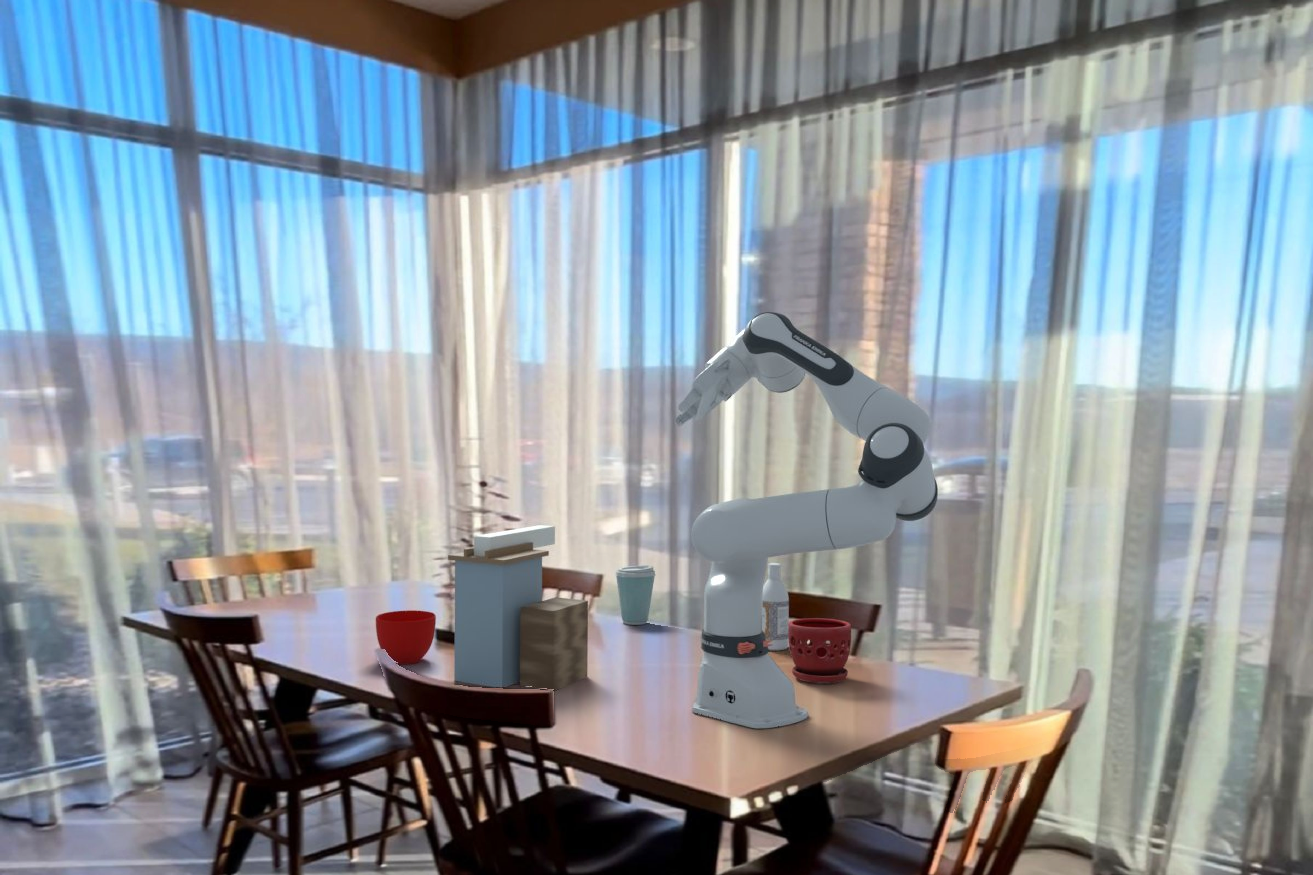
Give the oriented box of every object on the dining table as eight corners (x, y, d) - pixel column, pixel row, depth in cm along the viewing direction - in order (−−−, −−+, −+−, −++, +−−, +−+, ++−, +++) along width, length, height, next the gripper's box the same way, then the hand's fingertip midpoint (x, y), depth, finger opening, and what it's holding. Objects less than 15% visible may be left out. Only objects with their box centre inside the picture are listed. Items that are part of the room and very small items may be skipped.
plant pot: (863, 679, 213) (864, 622, 213) (824, 690, 205) (825, 631, 204) (813, 667, 223) (814, 613, 223) (774, 677, 214) (775, 621, 214)
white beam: (539, 542, 229) (540, 525, 229) (554, 543, 227) (554, 526, 227) (473, 555, 208) (473, 536, 207) (489, 556, 206) (489, 537, 206)
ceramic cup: (414, 647, 238) (414, 605, 237) (445, 662, 224) (445, 617, 224) (360, 655, 230) (360, 611, 230) (388, 671, 216) (389, 624, 216)
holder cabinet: (494, 664, 223) (495, 539, 222) (547, 672, 216) (548, 543, 216) (447, 681, 209) (448, 547, 208) (503, 690, 202) (504, 552, 202)
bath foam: (754, 645, 244) (755, 562, 244) (780, 643, 246) (781, 561, 246) (765, 651, 237) (766, 566, 237) (792, 649, 239) (794, 565, 239)
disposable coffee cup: (613, 626, 264) (613, 568, 263) (616, 618, 274) (616, 562, 274) (654, 627, 263) (654, 569, 263) (655, 618, 274) (656, 563, 274)
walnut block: (555, 671, 217) (555, 597, 217) (587, 676, 213) (587, 600, 213) (520, 685, 206) (520, 607, 205) (553, 691, 202) (553, 611, 201)
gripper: (742, 367, 205) (693, 411, 202) (729, 400, 225) (685, 441, 222) (719, 345, 206) (671, 389, 203) (709, 380, 226) (665, 421, 223)
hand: (678, 416), depth 213 cm, fingers open, 8 cm apart
